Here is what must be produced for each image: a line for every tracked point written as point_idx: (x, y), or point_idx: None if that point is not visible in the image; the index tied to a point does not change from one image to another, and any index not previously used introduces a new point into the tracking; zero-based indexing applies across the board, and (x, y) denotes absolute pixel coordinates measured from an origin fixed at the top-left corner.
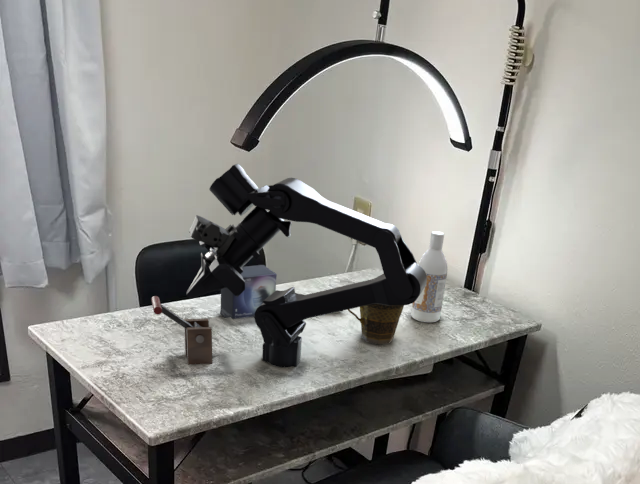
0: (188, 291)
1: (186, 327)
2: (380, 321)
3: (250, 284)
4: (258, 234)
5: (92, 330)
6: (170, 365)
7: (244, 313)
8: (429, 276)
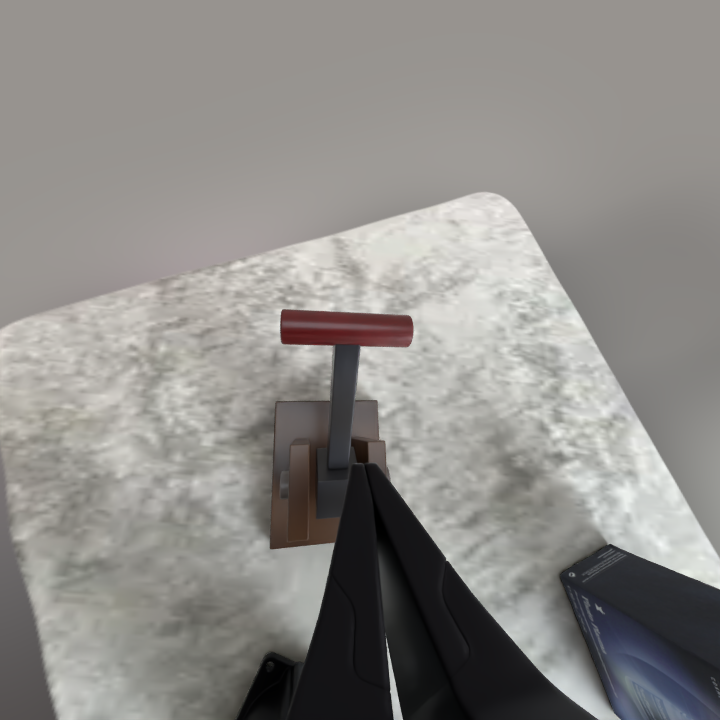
0: (360, 477)
1: (327, 444)
2: None
3: None
4: None
5: (498, 270)
6: None
7: (597, 629)
8: None
